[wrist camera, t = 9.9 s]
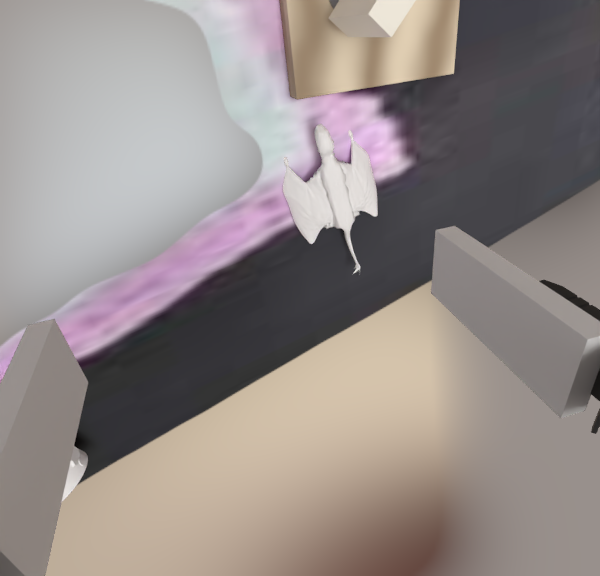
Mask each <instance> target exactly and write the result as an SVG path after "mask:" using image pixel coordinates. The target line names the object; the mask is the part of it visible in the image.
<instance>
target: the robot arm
mask: <svg viewBox="0 0 600 576" xmlns="http://www.w3.org/2000/svg"><path fill="white" fill-rule="evenodd" d="M431 293H432V294H433V295H434V296H435V297H436V298H437V299H438V300H439V301H440V302H441V303H442V304H443V305H444V306H445V307H446V308H447V309H448V310H449V311H450V312H451V313H452V314H453V315H454V316H455V317H456V318H458V320H459V321H461V322H462V323H463V324H464V325H465V326H466V327H467V328H468V329H469V330H470V331H471V332H472V333H473V334H474V335H475V336H476V337H477V338H478V339H479V340H480V341H481V342H482V343H483V344H484V345H485V346H486V347H487V348H488V349H489V350H491V351H492V352H493V353H494V354H495V355H496V356H497V357H498V358H499V359H500V360H501V361H502V362H503V363H504V364H505V365H506V366H507V367H508V368H509V369H510V370H511V371H512V372H513V373H514V374H515V375H516V376H517V377H518V378H519V379H520V380H522V381H523V382H524V383H525V384H526V385H527V386H528V387H529V388H530V389H531V390H532V391H533V392H534V393H535V394H536V395H537V396H538V397H539V398H540V399H541V400H542V401H543V402H544V403H545V404H546V405H547V406H548V407H549V408H550V409H551V410H553V411H554V412H555V413H556V414H557V415H558V416H559V417H560V418H564V417H567V416H570V415H573V414H576V413H579V412H582V411H585V409H586V407H587V404H588V401H589V399H590V396H591V394H592V395H593V396H594V397H595V398H597V399H598V400H599V401H600V310H599V309H598V308H596V307H594V306H593V305H589V303H588V302H586V301H585V300H583V299H582V298H578V297H577V295H575V294H574V293H572V292H571V291H569V290H567V289H566V288H564V287H563V286H560V285H557V284H555V283H552V282H549V281H546V280H541V281H538V280H536V279H534V278H533V277H531V276H530V275H529V274H527V273H526V272H524V271H522V270H521V269H519V268H518V267H516V266H515V265H513V264H512V263H510V262H509V261H507V260H506V259H504V258H503V257H501V256H500V255H498V254H497V253H495V252H494V251H492V250H491V249H489V248H488V247H486V246H484V245H483V244H481V243H480V242H478V241H477V240H475V239H474V238H472V237H471V236H469V235H468V234H466V233H465V232H463V231H462V230H460V229H459V228H457V227H456V226H452V227H447V228H443V229H439V230H436V233H435V247H434V261H433V275H432V289H431ZM87 385H88V381H87V379H86V377H85V375H84V373H83V372H82V370H81V368H80V366H79V364H78V362H77V360H76V358H75V357H74V355H73V353H72V351H71V349H70V347H69V345H68V343H67V342H66V340H65V338H64V336H63V334H62V332H61V330H60V328H59V327H58V325H57V323H56V321H55V319H52V320H47V321H43V322H39V323H34V324H30V325H28V326H27V328H26V330H25V333H24V335H23V337H22V339H21V341H20V343H19V345H18V347H17V349H16V352H15V354H14V356H13V358H12V360H11V362H10V364H9V366H8V368H7V371H6V373H5V375H4V377H3V379H2V381H1V383H0V576H45V573H46V569H47V565H48V561H49V556H50V552H51V547H52V542H53V538H54V534H55V529H56V525H57V520H58V516H59V511H60V507H61V502H62V498H63V493H64V489H65V484H66V480H67V475H68V471H69V466H70V462H71V457H72V453H73V448H74V444H75V439H76V435H77V430H78V426H79V421H80V417H81V412H82V408H83V403H84V399H85V394H86V390H87ZM599 427H600V409H599V411H598V414H597V416H596V419H595V421H594V424H593V426H592V431H591V432H592V433H595V434H596V433H597V431H598V428H599Z"/></svg>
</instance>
